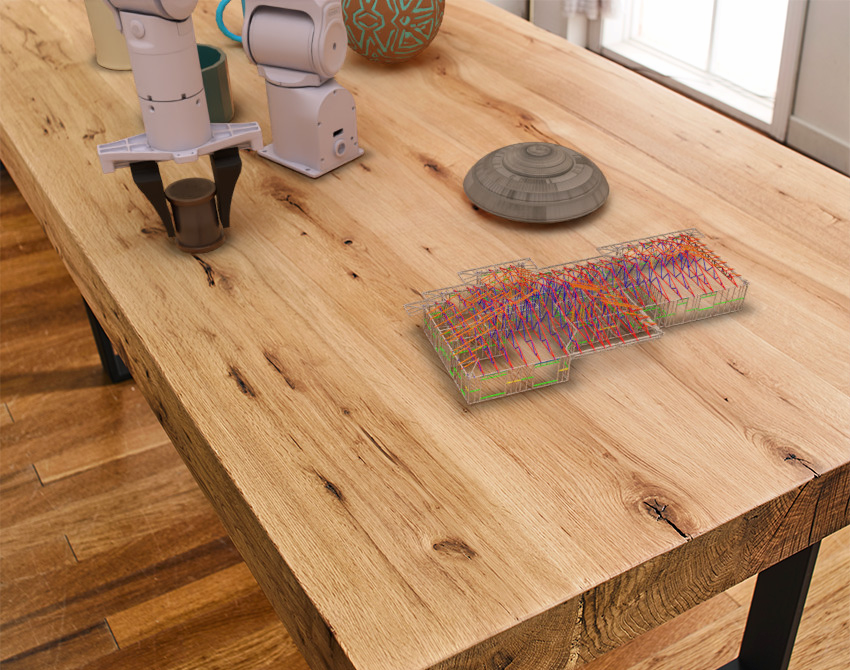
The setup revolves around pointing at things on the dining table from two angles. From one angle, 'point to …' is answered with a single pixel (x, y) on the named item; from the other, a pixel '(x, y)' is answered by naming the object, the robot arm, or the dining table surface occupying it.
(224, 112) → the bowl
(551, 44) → the dining table surface
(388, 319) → the dining table surface
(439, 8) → the decorative sphere
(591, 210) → the flying saucer
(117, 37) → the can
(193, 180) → the spool
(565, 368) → the roof frame
